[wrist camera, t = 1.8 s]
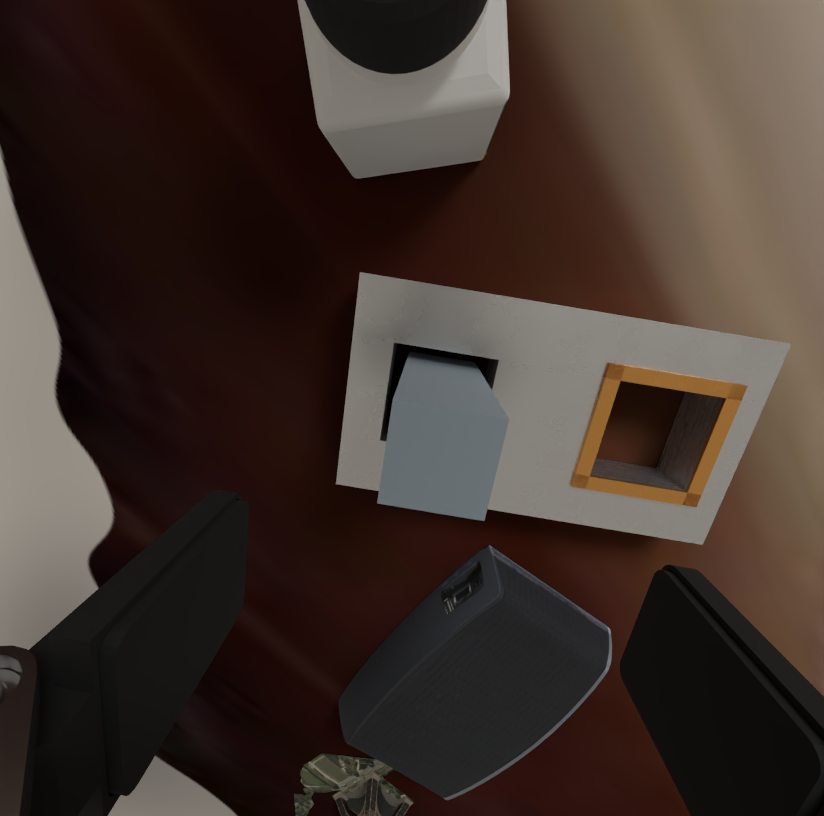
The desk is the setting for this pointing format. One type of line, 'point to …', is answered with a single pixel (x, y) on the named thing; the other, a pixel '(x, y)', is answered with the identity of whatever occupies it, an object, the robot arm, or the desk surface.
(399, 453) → the peg
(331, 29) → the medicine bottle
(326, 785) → the eiffel tower figurine
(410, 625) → the external hard drive
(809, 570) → the desk surface
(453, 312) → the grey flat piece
